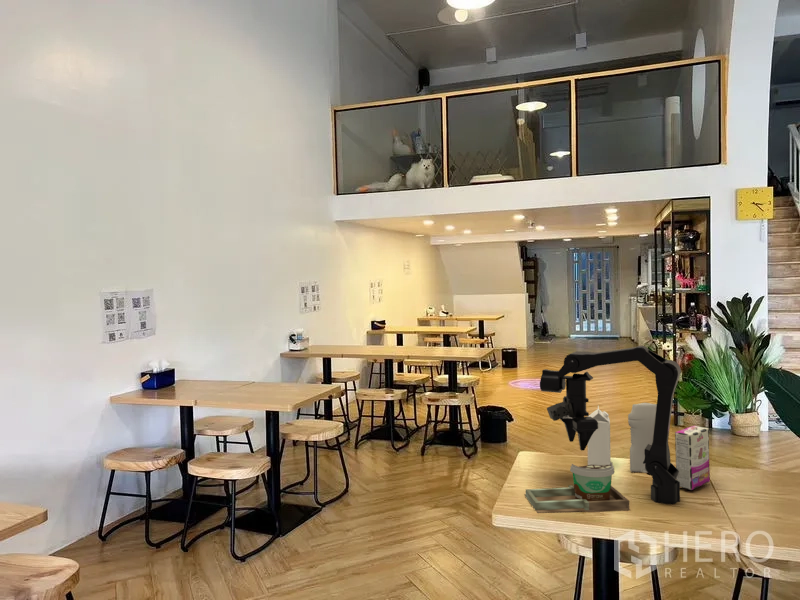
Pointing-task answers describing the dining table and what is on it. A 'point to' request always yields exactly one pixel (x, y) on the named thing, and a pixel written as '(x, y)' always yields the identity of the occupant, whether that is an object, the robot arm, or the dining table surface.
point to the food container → (592, 481)
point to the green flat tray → (572, 501)
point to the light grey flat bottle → (641, 433)
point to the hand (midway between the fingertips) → (576, 445)
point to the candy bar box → (692, 457)
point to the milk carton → (600, 440)
